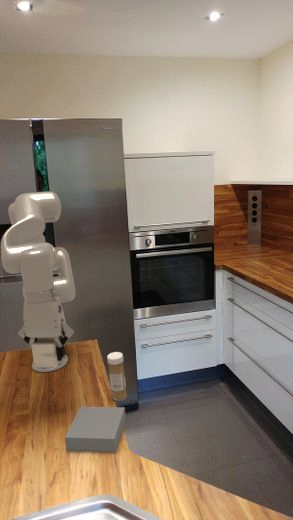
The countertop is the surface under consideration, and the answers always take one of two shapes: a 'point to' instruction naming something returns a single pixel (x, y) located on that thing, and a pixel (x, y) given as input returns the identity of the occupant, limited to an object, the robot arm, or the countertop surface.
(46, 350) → the cream cube
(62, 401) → the countertop surface
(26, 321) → the robot arm
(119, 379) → the sprinkles bottle
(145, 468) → the countertop surface
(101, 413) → the slate block
